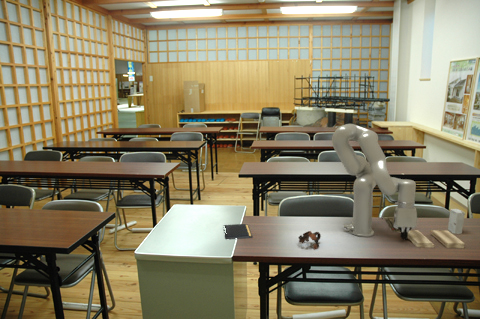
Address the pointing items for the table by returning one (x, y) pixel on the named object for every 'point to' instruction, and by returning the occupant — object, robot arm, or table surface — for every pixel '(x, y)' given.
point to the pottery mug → (312, 236)
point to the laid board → (447, 239)
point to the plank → (420, 239)
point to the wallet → (237, 231)
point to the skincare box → (456, 221)
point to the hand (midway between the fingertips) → (403, 238)
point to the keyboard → (391, 224)
